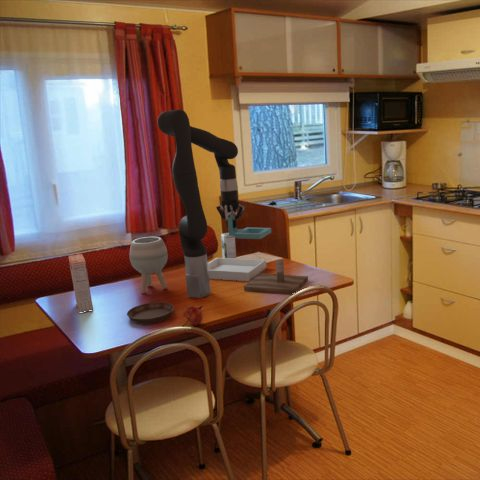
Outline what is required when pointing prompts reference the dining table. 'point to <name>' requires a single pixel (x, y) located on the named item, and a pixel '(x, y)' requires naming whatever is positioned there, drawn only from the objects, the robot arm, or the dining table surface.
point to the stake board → (276, 282)
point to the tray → (235, 268)
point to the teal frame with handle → (247, 231)
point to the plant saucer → (150, 312)
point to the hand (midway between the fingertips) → (232, 227)
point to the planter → (148, 259)
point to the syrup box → (228, 246)
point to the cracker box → (80, 282)
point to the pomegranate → (193, 315)
